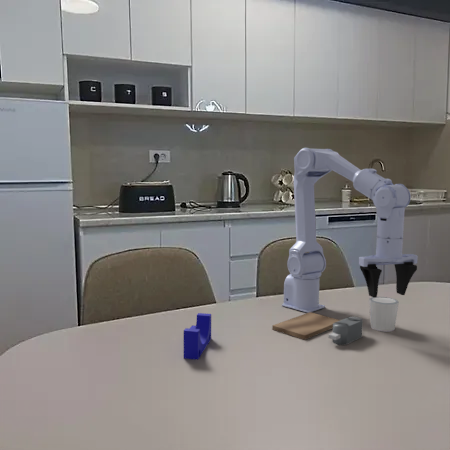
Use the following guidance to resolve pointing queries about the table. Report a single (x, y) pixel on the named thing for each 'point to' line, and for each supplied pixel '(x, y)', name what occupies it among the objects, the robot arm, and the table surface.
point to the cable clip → (197, 337)
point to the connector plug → (346, 330)
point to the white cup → (383, 313)
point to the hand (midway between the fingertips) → (386, 295)
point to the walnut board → (305, 325)
